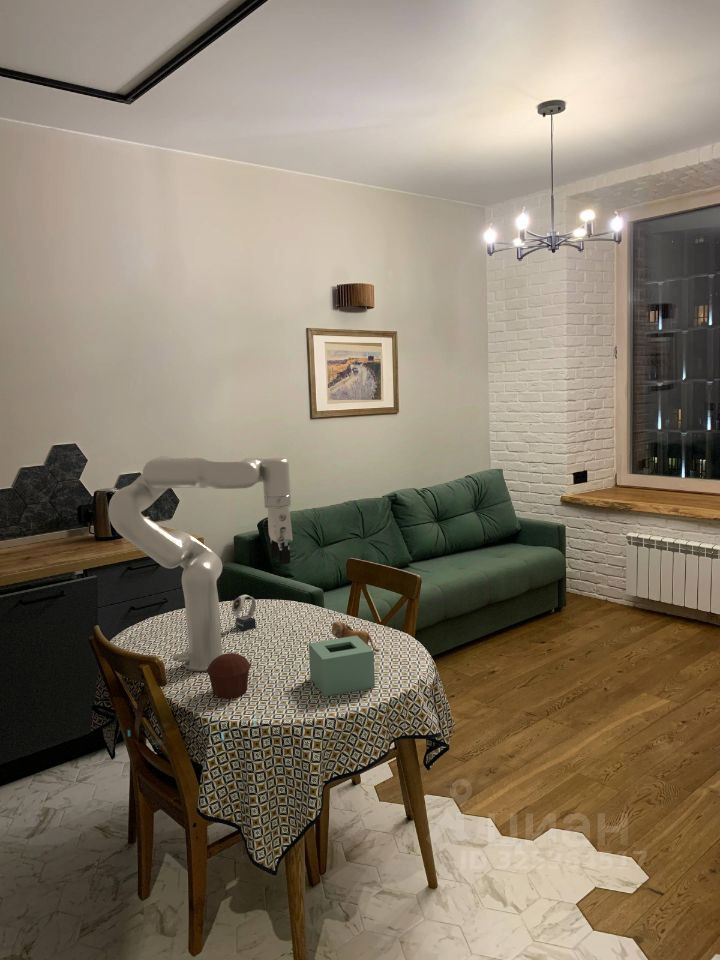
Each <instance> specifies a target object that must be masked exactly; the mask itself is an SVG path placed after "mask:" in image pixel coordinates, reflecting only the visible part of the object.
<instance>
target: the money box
mask: <svg viewBox="0 0 720 960" xmlns="http://www.w3.org/2000/svg"><path fill="white" fill-rule="evenodd" d="M368 645H369V644H368ZM368 645H367V644H366V643H365V642H363V641H362V640H361V639H360V638H359V637H358V636H351V637H345V638H339V639H338V638H333V639H327V640H322V641H321V640H320V641H315V642H310V643H308V654H309V658H308V659H309V675H310V679H311V681H312V682H313V684H314V685H315V686H316V688H317V689H318V690H319V691H320V692H321V694H322V696H323V697H328V696H336V695H340V694H341V695H342V694H345V693H351V692H356V691H361V690H367V689H372V688H375V687H376V681H375V680H376V677H375V676H376V675H375V655H374V654H375V653H374V652H375V650H374V649H373V648H372V647H371V646H370V645H369V646H370V647H371V648H370V647H369V646H368Z"/></svg>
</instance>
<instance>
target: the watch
mask: <svg viewBox="0 0 720 960" xmlns="http://www.w3.org/2000/svg"><path fill="white" fill-rule="evenodd" d="M246 598H249V599H250V600H251V604H250V607H249V610H248V613H247V614H246V615H242V616H241V617H240V616H239V615H240V612H241V611H242V610H243V608H244V605H245V600H246ZM231 606H232V607H231V610H232V613H233V614H234V616H235V627H236V628H237V629H238V630H242V631H243V632H246V631H249V630H253V629H256V627H257V626H256V618H254V617H253V616H254V614H255V612H256V609H257V603H256V599H255V598H254V597H253V596H250V595H248V594H242V595H239V596H238V597H236V598H235V599H234V600H233V602H232V605H231Z"/></svg>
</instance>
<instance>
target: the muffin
mask: <svg viewBox="0 0 720 960" xmlns="http://www.w3.org/2000/svg"><path fill="white" fill-rule="evenodd" d="M251 667H252V665H251V663H250V662H249V660H248V659H247V657H245V656H244V655H241V654H240V653H235V652H226V653H223V655H220V656H218V657H217V658H215V659H214V660H213V661H212V662H211V664H210V665H209V666H208V668H207V670H206V671H205V672H206V674H207V675H208V676H209V681H210V686H211V691H212V692H213V696H215V695H216V696H215V697H216V698H218V699H225V700H230V699H235V698H240V697H241V696H243V695H245V694H247V691H248V686H249V684H248V683H249V672H250V669H251Z"/></svg>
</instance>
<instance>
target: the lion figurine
mask: <svg viewBox="0 0 720 960" xmlns="http://www.w3.org/2000/svg"><path fill="white" fill-rule="evenodd" d="M331 634H332V635H333V637H335V638H336V639H339V638H345V637H351V636H358V637H359V638H360V639H361V640H362V641H363V642H365V643H366V644H367V645H368V646H369V647H370V648H371V649H372V650H373V651H374V652H376V653H379V652H380V650H378V649H377V648H375V647H374V643H373V639H372V637H371V635H370V634H369V632H368V631H366V630H355V629H353V628H352V627H351V626H350V625H348V624H346V623H345V622H342V621H339V620H338V621H334V622H333V623H332V624H331ZM369 642H370V645H371V646H370V645H369Z"/></svg>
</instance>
